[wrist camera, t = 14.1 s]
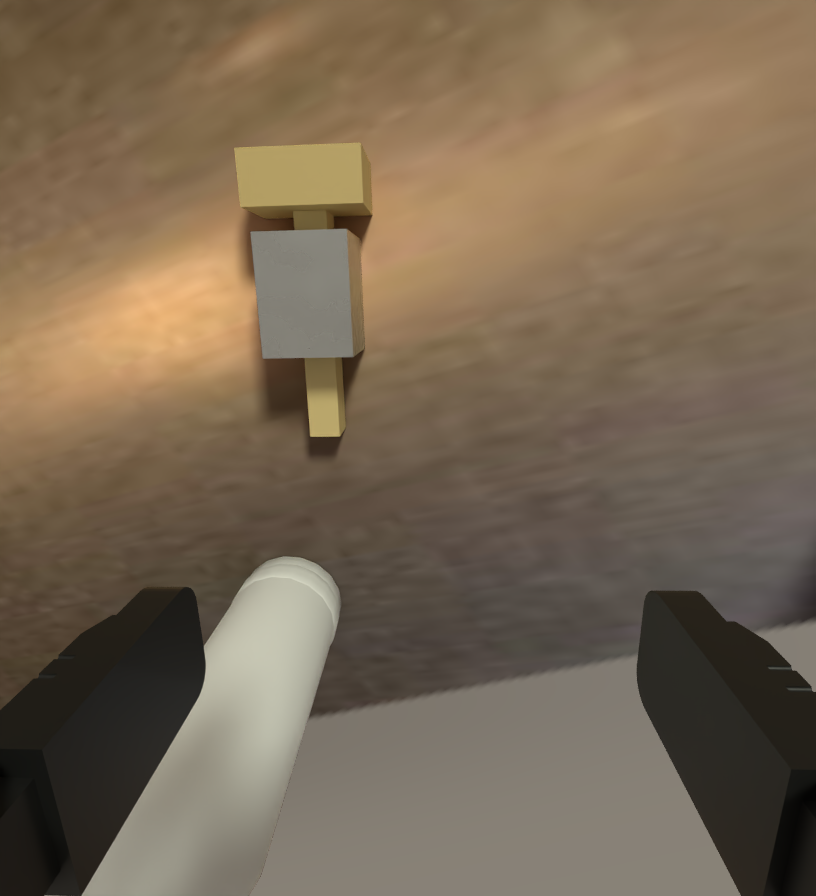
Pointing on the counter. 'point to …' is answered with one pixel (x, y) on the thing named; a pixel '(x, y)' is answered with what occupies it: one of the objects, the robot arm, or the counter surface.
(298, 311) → the slotted grey block
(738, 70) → the counter surface
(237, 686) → the bottle
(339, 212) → the yellow t-shaped block
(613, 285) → the counter surface
